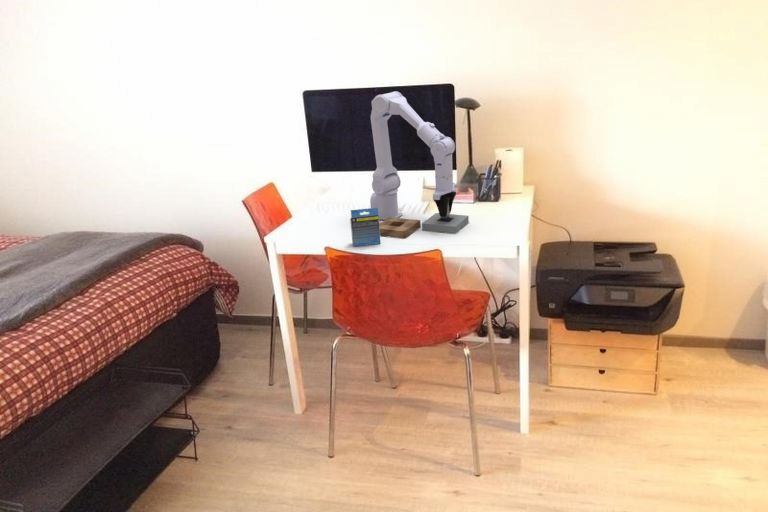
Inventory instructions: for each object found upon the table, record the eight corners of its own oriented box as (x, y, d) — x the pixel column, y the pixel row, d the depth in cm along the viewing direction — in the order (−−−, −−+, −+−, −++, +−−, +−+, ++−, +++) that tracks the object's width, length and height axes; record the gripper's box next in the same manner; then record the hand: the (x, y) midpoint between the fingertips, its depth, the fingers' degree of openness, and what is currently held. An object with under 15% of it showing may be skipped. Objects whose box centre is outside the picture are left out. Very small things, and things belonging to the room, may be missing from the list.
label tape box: (379, 240, 198) (376, 203, 194) (380, 244, 194) (378, 207, 190) (352, 243, 197) (348, 206, 193) (353, 247, 193) (350, 210, 189)
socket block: (373, 234, 203) (372, 227, 202) (389, 223, 213) (389, 217, 212) (405, 238, 198) (404, 231, 197) (420, 227, 208) (420, 220, 207)
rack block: (422, 230, 204) (421, 223, 203) (436, 219, 214) (436, 212, 213) (455, 233, 199) (455, 226, 198) (468, 222, 208) (468, 215, 208)
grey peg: (439, 225, 205) (438, 199, 202) (442, 222, 208) (441, 197, 205) (448, 225, 204) (447, 200, 201) (450, 223, 207) (449, 197, 204)
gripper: (446, 181, 192) (448, 222, 197) (463, 170, 204) (464, 209, 209) (426, 180, 195) (428, 220, 200) (443, 169, 207) (445, 207, 212)
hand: (445, 214), depth 205 cm, fingers closed on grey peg, 3 cm apart
